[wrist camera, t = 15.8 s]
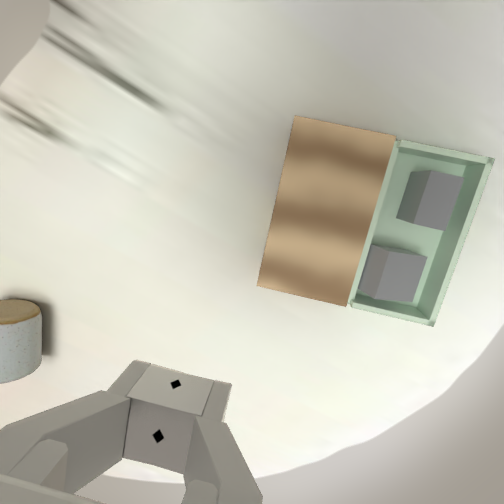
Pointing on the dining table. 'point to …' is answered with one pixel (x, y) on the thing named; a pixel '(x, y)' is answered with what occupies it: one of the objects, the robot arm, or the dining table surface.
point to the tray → (422, 227)
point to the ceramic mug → (19, 339)
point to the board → (324, 209)
